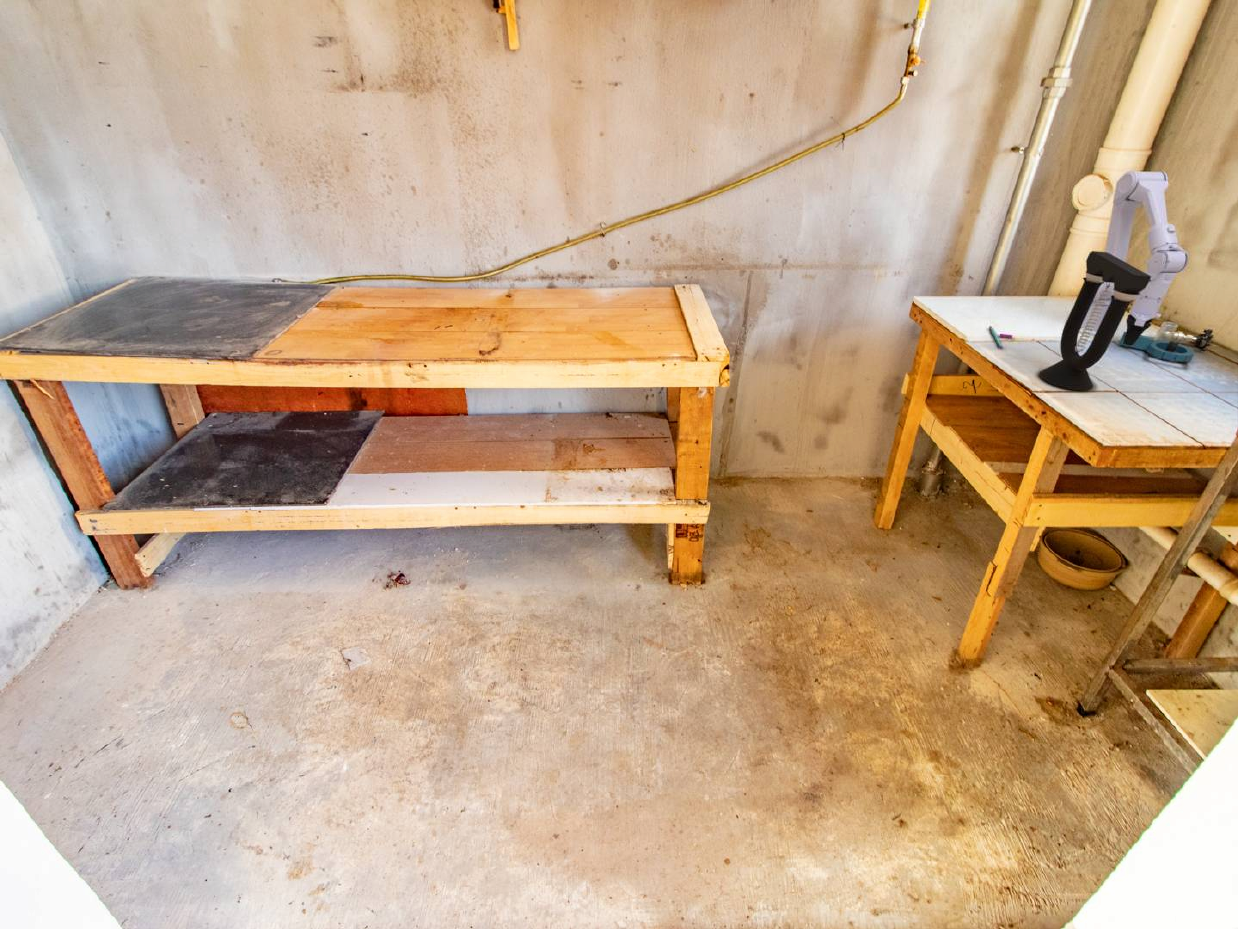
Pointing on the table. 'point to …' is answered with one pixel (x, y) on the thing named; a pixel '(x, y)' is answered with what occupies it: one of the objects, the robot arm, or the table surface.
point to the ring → (1160, 348)
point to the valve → (1168, 334)
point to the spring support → (1126, 289)
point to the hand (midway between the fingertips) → (1128, 343)
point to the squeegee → (997, 337)
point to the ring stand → (1170, 348)
